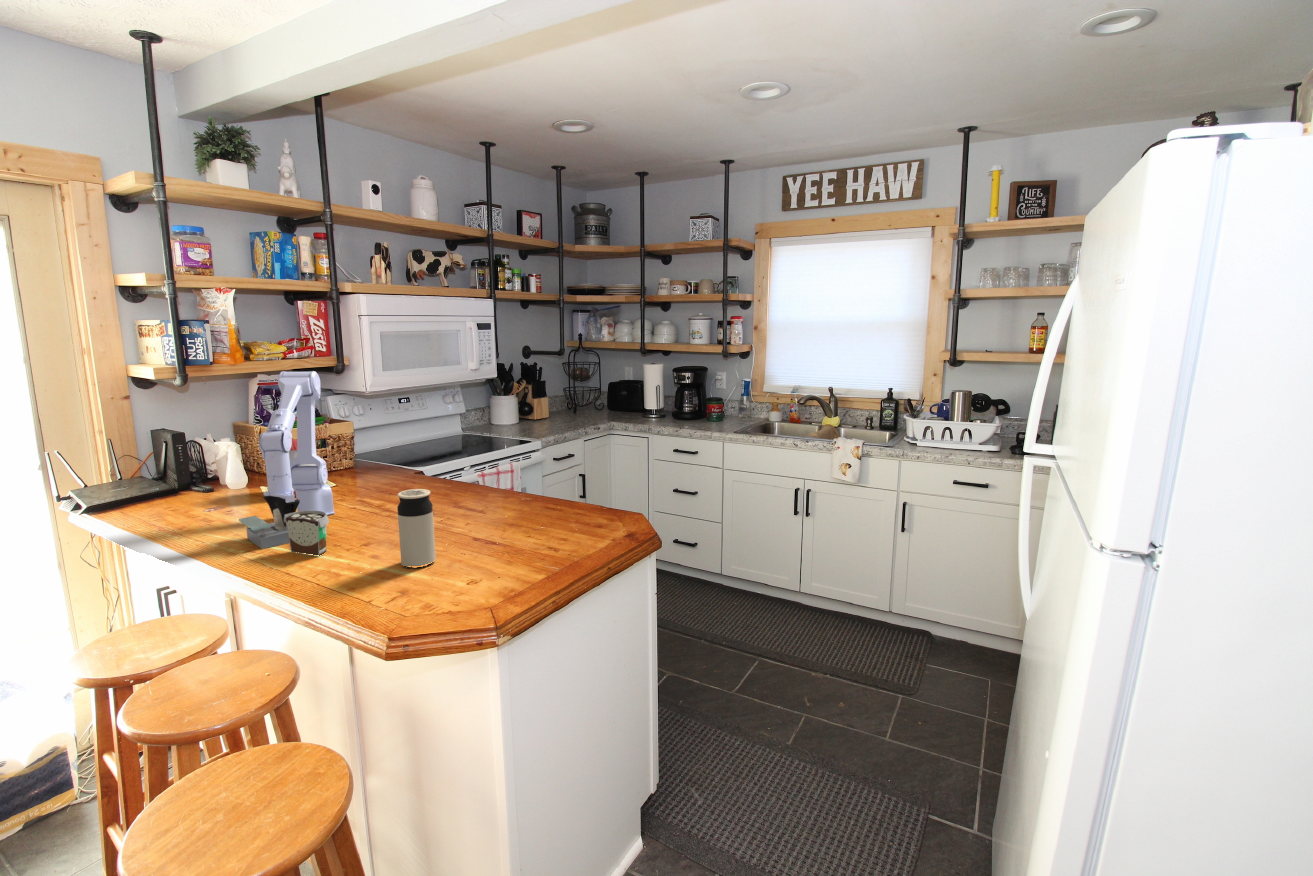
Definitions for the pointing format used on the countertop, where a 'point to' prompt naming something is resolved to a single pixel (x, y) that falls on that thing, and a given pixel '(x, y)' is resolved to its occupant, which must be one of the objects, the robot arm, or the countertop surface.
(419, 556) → the travel mug
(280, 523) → the peg
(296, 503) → the robot arm
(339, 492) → the countertop surface
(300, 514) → the food container
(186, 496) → the countertop surface
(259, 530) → the socket block
